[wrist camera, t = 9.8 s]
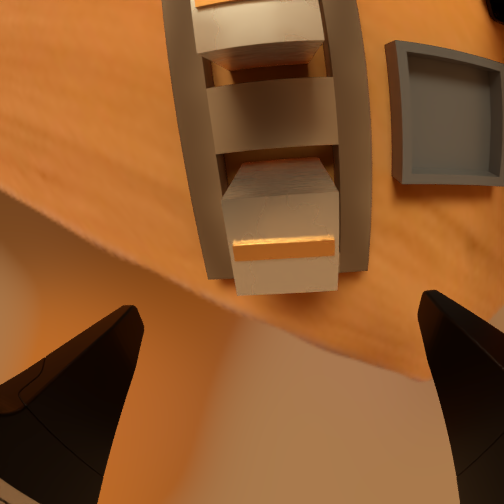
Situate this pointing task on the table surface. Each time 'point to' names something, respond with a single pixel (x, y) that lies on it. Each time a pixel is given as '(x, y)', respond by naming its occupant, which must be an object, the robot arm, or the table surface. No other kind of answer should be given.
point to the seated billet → (257, 32)
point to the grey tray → (445, 116)
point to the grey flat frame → (275, 127)
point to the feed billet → (283, 227)
